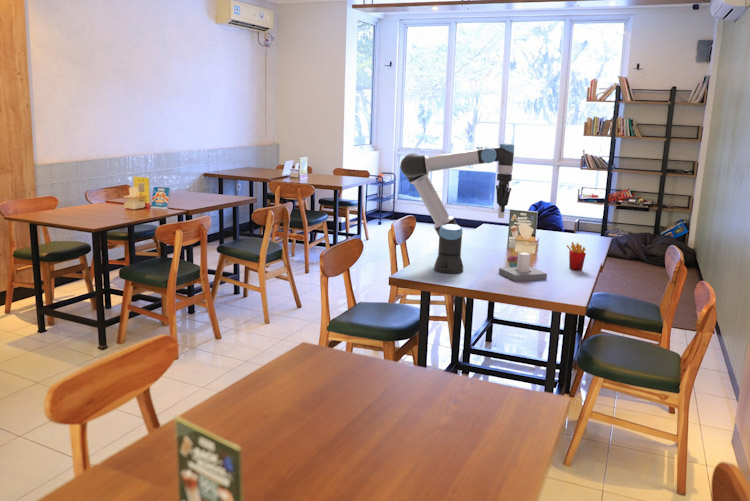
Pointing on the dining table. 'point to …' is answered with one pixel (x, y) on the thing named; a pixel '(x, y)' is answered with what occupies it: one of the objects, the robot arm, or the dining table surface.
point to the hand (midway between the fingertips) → (500, 217)
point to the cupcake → (513, 259)
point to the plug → (523, 262)
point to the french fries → (576, 257)
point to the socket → (522, 274)
